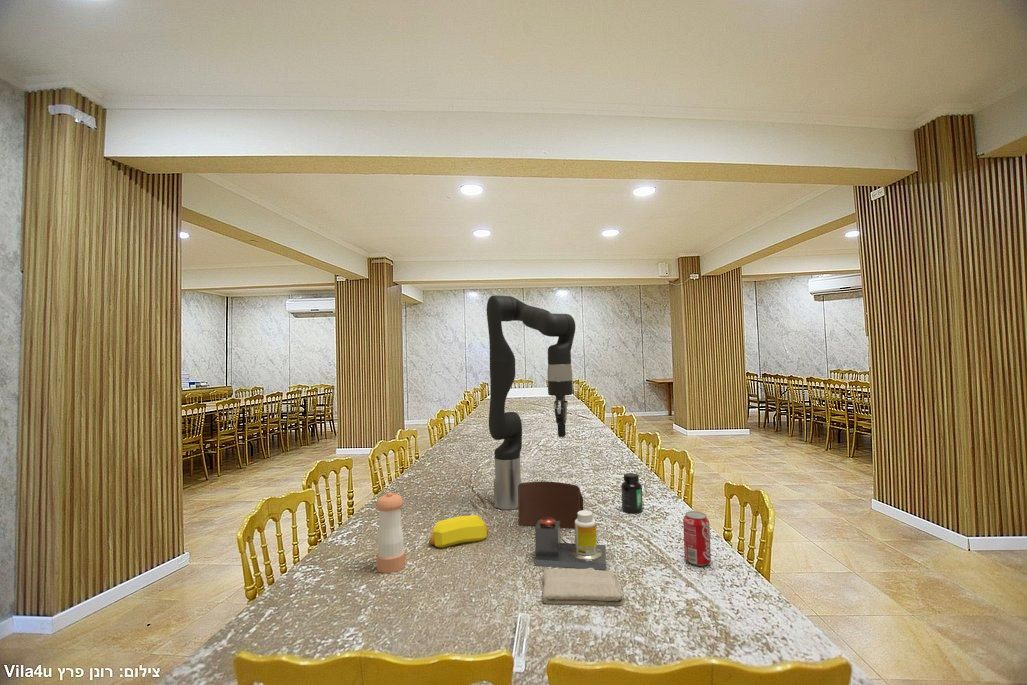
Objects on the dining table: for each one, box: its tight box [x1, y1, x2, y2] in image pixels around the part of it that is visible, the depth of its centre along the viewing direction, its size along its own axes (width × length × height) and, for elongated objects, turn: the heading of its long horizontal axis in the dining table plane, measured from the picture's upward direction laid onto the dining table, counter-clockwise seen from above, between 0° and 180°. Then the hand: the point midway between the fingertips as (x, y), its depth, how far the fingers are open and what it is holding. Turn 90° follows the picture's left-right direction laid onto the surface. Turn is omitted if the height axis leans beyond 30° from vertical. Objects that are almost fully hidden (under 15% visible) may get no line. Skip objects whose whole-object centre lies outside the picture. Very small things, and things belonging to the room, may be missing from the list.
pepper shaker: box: [375, 491, 406, 574], centre depth 118 cm, size 7×7×19 cm
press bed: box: [533, 520, 607, 571], centre depth 119 cm, size 18×11×8 cm, turn 79°
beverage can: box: [682, 510, 712, 567], centre depth 115 cm, size 6×6×12 cm
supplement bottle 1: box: [574, 509, 598, 556], centre depth 119 cm, size 6×6×10 cm
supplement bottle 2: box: [620, 472, 644, 515], centre depth 153 cm, size 7×7×12 cm
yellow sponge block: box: [428, 514, 490, 549], centre depth 133 cm, size 18×7×8 cm
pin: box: [540, 517, 555, 527], centre depth 121 cm, size 4×4×8 cm
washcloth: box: [542, 568, 625, 607], centre depth 103 cm, size 12×18×3 cm, turn 85°
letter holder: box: [517, 480, 584, 530], centre depth 146 cm, size 10×20×14 cm, turn 76°
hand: (561, 436), depth 136 cm, fingers closed
